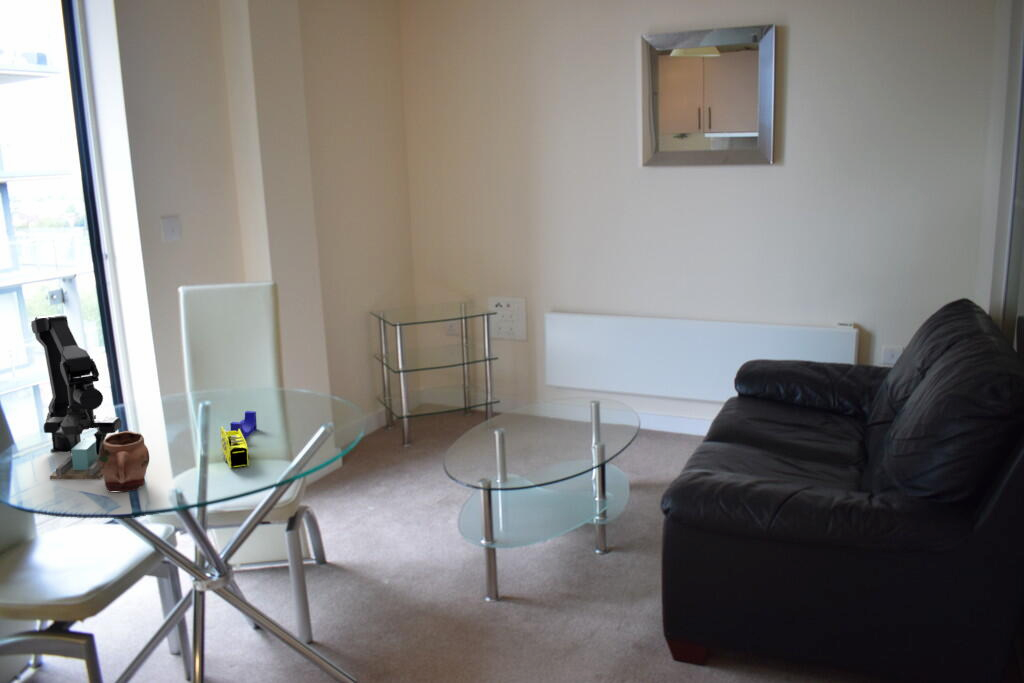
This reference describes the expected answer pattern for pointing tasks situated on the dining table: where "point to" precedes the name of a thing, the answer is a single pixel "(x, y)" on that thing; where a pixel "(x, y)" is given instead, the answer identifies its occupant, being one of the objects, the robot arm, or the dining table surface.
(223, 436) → the yellow toy chassis
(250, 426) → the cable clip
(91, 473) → the rail board
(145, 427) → the dining table surface
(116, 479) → the decorative planter
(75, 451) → the teal rectangular block
